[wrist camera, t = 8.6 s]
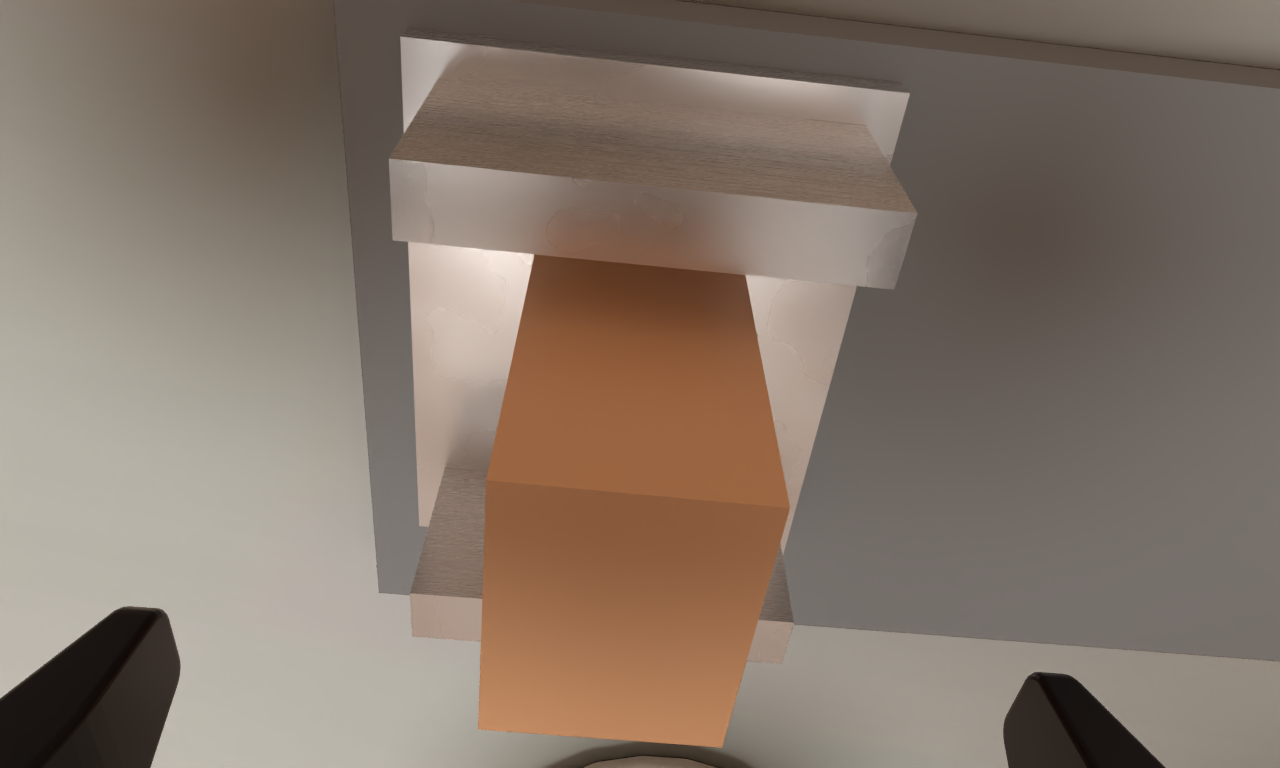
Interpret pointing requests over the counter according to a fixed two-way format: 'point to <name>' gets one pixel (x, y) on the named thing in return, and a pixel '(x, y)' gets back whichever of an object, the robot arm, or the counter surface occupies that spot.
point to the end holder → (623, 241)
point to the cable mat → (965, 329)
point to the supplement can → (649, 763)
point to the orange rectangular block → (628, 506)
